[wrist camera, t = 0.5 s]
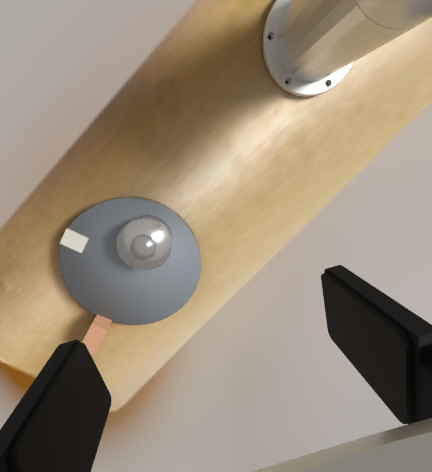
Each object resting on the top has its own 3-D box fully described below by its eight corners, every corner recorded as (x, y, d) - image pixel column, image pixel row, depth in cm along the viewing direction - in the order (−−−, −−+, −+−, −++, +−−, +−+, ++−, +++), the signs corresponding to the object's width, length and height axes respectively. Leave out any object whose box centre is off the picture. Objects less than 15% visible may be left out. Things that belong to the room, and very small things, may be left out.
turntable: (99, 169, 34) (86, 171, 30) (223, 237, 39) (228, 247, 35) (34, 309, 39) (15, 327, 35) (151, 354, 44) (147, 374, 40)
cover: (136, 205, 34) (129, 211, 30) (181, 229, 36) (180, 238, 32) (113, 247, 35) (104, 258, 32) (158, 269, 37) (155, 282, 33)
